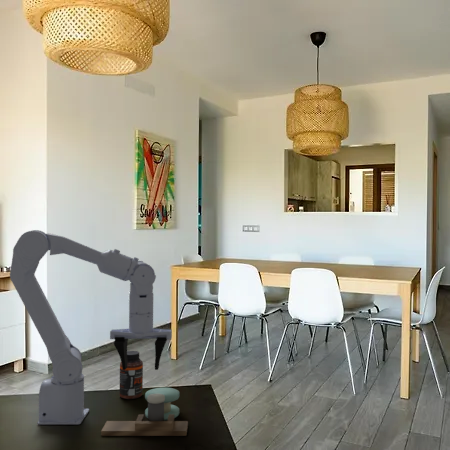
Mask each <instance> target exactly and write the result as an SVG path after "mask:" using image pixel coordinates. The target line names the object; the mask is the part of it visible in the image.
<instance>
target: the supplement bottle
mask: <svg viewBox="0 0 450 450" xmlns="http://www.w3.org/2000/svg"><path fill="white" fill-rule="evenodd" d="M143 374H144V363H143V361H142V359H141V358H140V352H139V351H138V350H127V368H126V370H123V367H122V362H121V361H120V363H119V397H120V398H122V399H124V400H125V399H126V400H135V399H138V398H140V397H142V395H143V390H144V389H143V387H144V386H143V383H144V382H143V381H144V379H143V377H144V375H143Z"/></svg>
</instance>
